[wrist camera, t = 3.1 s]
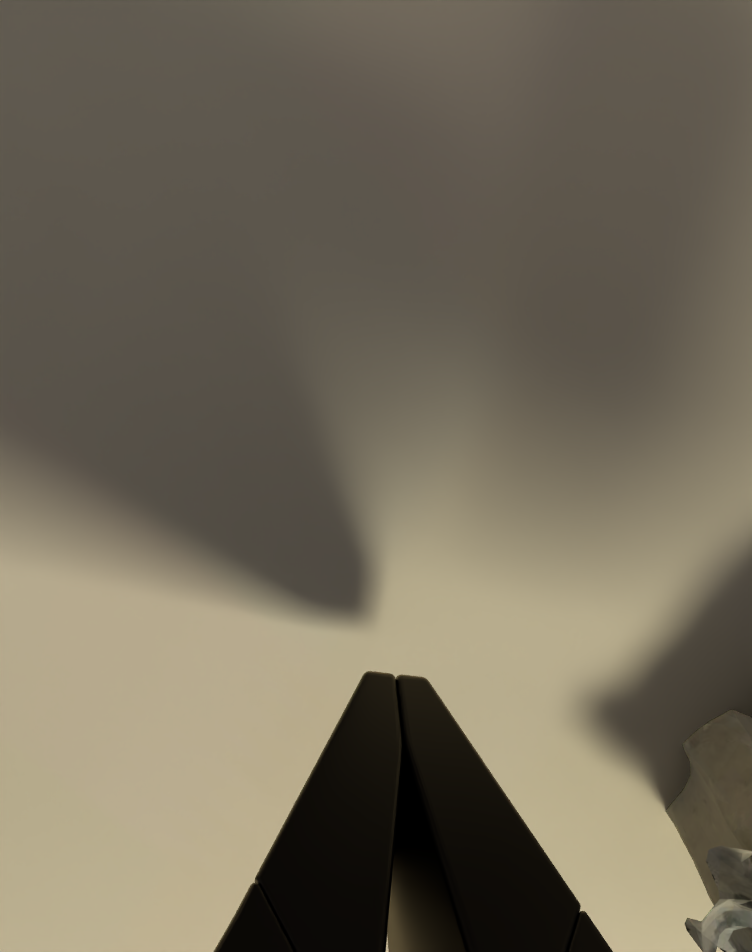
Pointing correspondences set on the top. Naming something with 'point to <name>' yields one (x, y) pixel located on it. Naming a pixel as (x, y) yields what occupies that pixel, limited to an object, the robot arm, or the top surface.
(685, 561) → the top surface
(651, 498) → the top surface
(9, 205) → the top surface
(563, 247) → the top surface
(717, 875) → the egg carton
